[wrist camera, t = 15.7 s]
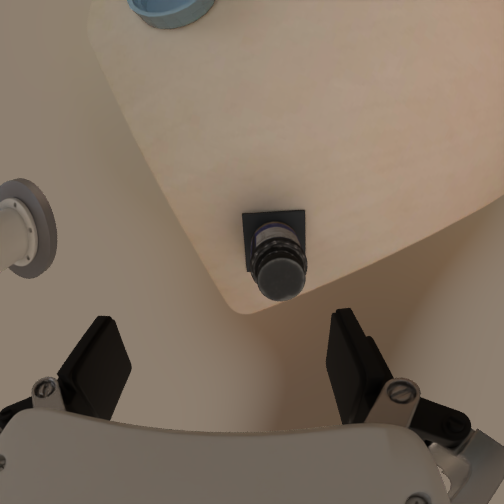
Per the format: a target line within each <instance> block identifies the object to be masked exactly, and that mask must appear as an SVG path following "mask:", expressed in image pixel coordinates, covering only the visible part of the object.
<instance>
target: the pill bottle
mask: <svg viewBox="0 0 504 504" xmlns="http://www.w3.org/2000/svg"><path fill="white" fill-rule="evenodd" d="M250 271H251V275H252V277H253V279H254V281H255V282H256V283H257V284H258V287H259V290H260V291H261V293H262V294H263V295H264V296H266V297H267V298H269V299H271V300H274V301H286V300H290V299H292V298H294V297H295V296H297V295H298V294H299V293H300V292H301V291H302V289H303V287H304V285H305V275H306V272H307V258H306V255H305V253H304V251H303V248H302V246H301V244H300V242H299V239H298V237H297V235H296V233H295V231H294V230H293V229H292V228H291V227H290V226H289V225H287V224H285V223H283V222H280V221H271V222H267V223H264V224H262V225H261V226H260V227H259V228H258V229H257V230H256V231H255V233H254V235H253V237H252V240H251V257H250Z"/></svg>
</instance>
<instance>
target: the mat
mask: <svg viewBox="0 0 504 504" xmlns="http://www.w3.org/2000/svg"><path fill="white" fill-rule="evenodd" d="M242 220H243V232H244V244H245V255H246V266H247V272H251V271H250V257H251V240H252V237H253V235H254V233H255V231H256V230H257V229H258V228H259V227H260V226H261V225H262V224H264V223H267V222H271V221H280V222H283V223H285V224H287V225H289V226H290V227H291V228H292V229H293V230H294V231H295V233H296V235H297V237H298V239H299V242H300V244H301V246H302V248H303V251H304V253H305V211H304V210H294V211H276V212H260V213H245V214H242Z"/></svg>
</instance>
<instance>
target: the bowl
mask: <svg viewBox="0 0 504 504" xmlns="http://www.w3.org/2000/svg"><path fill="white" fill-rule="evenodd" d="M127 1H128V4H129V6H130V8H131V9H132V10H133V11H134V12H135V13H136V14H137V15H138V16H139V17H140V18H141V19H143V20H144V21H145V22H146V23H147V24H148V25H150V26H153V27H156V28H161V29H172V28H177V27H182V26H185V25H187V24H190V23H192V22H194V21H196V20H197V19H199V18H200V17H202V16H203V15H204V14H206V12H207V11H208V10H209V9H210V8H211V6H212V5H213V4H214V1H215V0H127Z"/></svg>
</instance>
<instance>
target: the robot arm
mask: <svg viewBox="0 0 504 504" xmlns="http://www.w3.org/2000/svg"><path fill="white" fill-rule="evenodd" d="M37 248H38V235H37V229H36V225H35V222H34V219H33V217H32V215H31V213H30V211H29V209H28V208H27V206H26V205H25V204H24V203H23V202H22V201H21V200H19V199H17V198H14V197H10V198H7V199H4V200H3V201H1V202H0V273H1V272H2V271H4V270H5V269H7V268H8V267H9V266H11V265H12V264H15V265H17V266H26V265H27V264H29V263H30V262H31V261H33V259H34V258H35V256H36V253H37ZM326 368H327V372H328V375H329V378H330V382H331V385H332V389H333V392H334V395H335V399H336V403H337V406H338V410H339V414H340V417H341V421H342V424H343V425H336V426H327V427H318V428H310V429H298V430H285V431H269V432H200V431H184V430H172V429H162V428H153V427H146V426H138V425H132V424H126V423H120V422H114V421H110V419H111V417H112V415H113V412H114V410H115V407H116V405H117V403H118V400H119V398H120V395H121V393H122V390H123V388H124V386H125V384H126V381H127V379H128V377H129V374H130V372H131V369H132V367H131V362H130V360H129V357H128V355H127V352H126V350H125V347H124V344H123V342H122V339H121V336H120V333H119V331H118V328H117V325H116V322H115V320H113V319H112V318H111V317H110V316H98V317H97V318H96V319H95V320H94V322H93V323H92V325H91V326H90V327H89V329H88V330H87V331H86V333H85V334H84V335H83V337H82V338H81V340H80V341H79V342H78V344H77V345H76V347H75V348H74V350H73V351H72V352H71V354H70V355H69V357H68V358H67V360H66V361H65V362H64V364H63V365H62V367H61V368H60V370H59V371H58V373H57V375H58V376H59V378H58V380H56V379H55V378H53V377H45V378H42V379H40V380H38V381H37V382H36V383H35V384H34V385H33V388H32V392H31V393H32V396H31V397H29V398H27V399H25V400H22V401H20V402H17V403H15V404H12V405H10V406H7V407H6V408H4V409H2V411H1V412H0V504H488V503H489V501H490V500H491V498H492V496H493V495H494V493H495V492H496V490H497V489H498V487H499V486H500V484H501V482H502V480H503V479H504V446H502V445H501V444H499V443H498V442H496V441H495V440H494V439H492V438H491V437H489V436H488V435H486V434H485V433H483V432H482V431H480V430H479V429H477V430H476V431H474V430H473V429H472V428H471V422H470V420H469V418H468V417H467V416H466V415H465V414H464V413H462V412H460V411H457V410H454V409H451V408H449V407H446V406H443V405H440V404H437V403H435V402H432V401H429V400H426V399H424V398H421V397H420V394H421V393H420V388H419V387H418V385H417V384H416V383H415V382H413V381H412V380H409V379H407V378H393V376H392V374H391V372H390V370H389V368H388V367H387V364H386V362H385V360H384V359H383V357H382V355H381V353H380V351H379V349H378V347H377V345H376V344H375V342H374V340H373V338H372V337H371V336H367V337H366V336H365V334H364V332H363V330H362V328H361V327H360V325H359V323H358V321H357V319H356V317H355V315H354V314H353V312H352V310H351V308H344V309H337V310H336V313H332V317H331V325H330V334H329V342H328V350H327V357H326ZM437 466H439V467H440V468H441V469H442V470H443V471H442V473H443V474H445V475H446V476H447V477H448V478H449V479H450V482H451V487H450V491H449V492H448V493H447V490H446V487H445V485H444V482H443V480H442V477H441V474H440V472H439V469H438V467H437ZM408 498H409V499H408Z"/></svg>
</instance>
